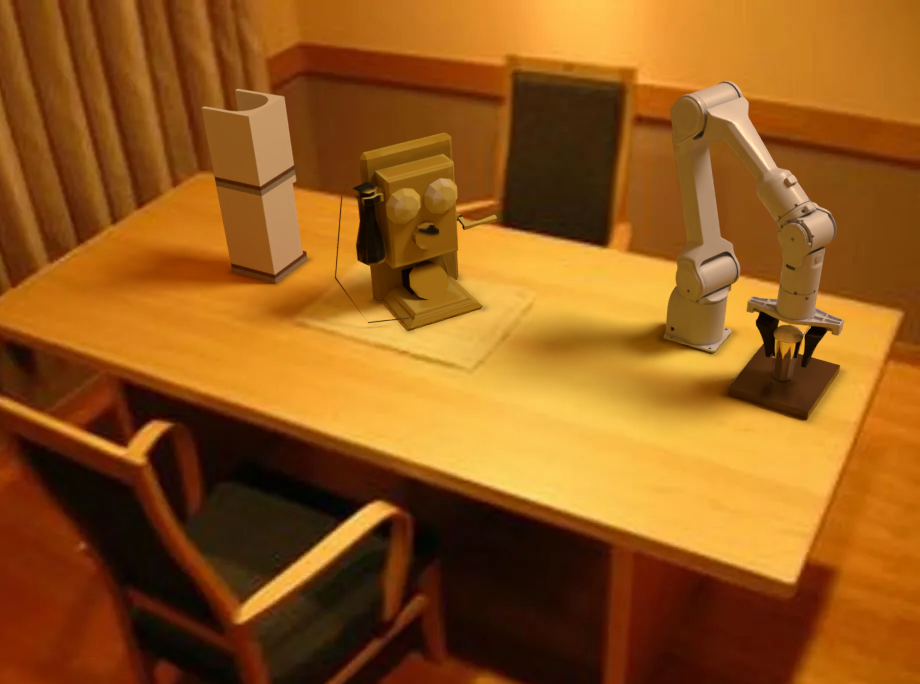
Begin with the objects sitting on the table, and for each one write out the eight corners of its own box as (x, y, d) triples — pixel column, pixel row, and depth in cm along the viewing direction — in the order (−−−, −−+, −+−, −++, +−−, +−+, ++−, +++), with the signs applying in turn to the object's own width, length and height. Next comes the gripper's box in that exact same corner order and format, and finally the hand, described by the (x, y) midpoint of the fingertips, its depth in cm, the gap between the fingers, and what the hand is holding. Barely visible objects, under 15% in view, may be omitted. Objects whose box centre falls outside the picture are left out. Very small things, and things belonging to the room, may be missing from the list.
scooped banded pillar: (307, 260, 223) (284, 96, 203) (276, 283, 216) (248, 116, 195) (264, 249, 228) (237, 88, 208) (232, 271, 221) (201, 107, 201)
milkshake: (803, 385, 173) (812, 332, 167) (768, 383, 174) (776, 330, 168) (800, 369, 176) (809, 317, 171) (766, 367, 177) (773, 315, 172)
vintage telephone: (362, 345, 195) (345, 193, 177) (334, 310, 205) (316, 163, 188) (514, 299, 204) (512, 150, 187) (480, 268, 215) (475, 124, 197)
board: (727, 395, 174) (727, 387, 174) (762, 350, 184) (763, 343, 183) (807, 419, 168) (808, 412, 167) (839, 372, 177) (840, 364, 176)
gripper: (855, 285, 164) (841, 359, 172) (762, 263, 172) (753, 335, 179) (840, 306, 160) (826, 381, 167) (745, 283, 167) (736, 355, 175)
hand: (787, 359), depth 173 cm, fingers open, 5 cm apart
